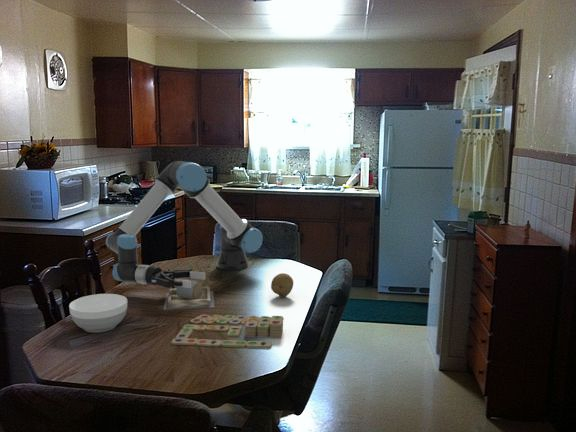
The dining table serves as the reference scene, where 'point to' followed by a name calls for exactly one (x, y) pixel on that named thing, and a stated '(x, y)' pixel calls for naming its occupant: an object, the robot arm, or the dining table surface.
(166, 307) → the mat
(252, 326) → the pile of dominoes
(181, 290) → the ceramic mug
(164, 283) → the robot arm
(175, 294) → the tray
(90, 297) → the bowl
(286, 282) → the natural sponge
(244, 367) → the dining table surface
